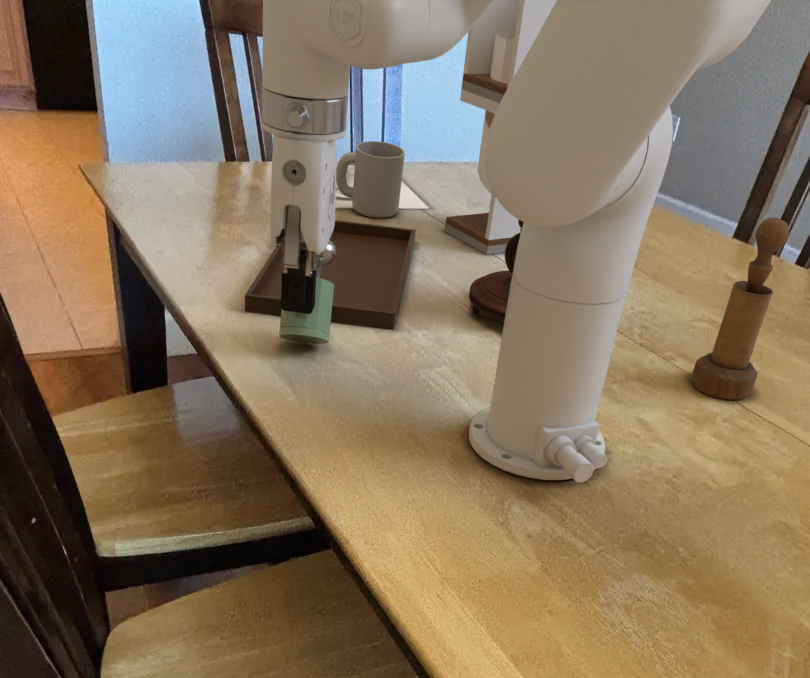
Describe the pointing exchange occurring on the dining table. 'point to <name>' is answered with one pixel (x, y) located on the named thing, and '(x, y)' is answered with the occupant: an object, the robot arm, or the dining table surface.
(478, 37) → the white shelf tower
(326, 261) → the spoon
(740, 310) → the mortar and pestle
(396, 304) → the tray
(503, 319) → the dark brown wooden piece
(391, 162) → the cup
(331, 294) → the tumbler
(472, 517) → the dining table surface
